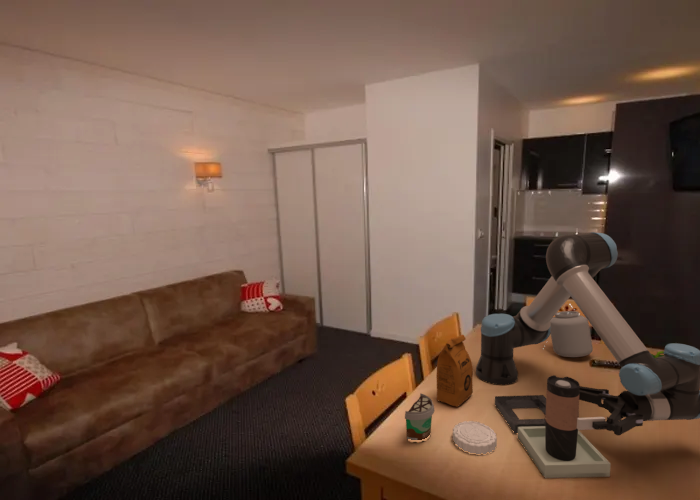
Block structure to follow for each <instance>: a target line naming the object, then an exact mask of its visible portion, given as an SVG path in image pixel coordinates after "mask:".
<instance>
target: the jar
mask: <svg viewBox="0 0 700 500" xmlns="http://www.w3.org/2000/svg"><path fill="white" fill-rule="evenodd" d="M571 304H572V303H569V306H570V307H571V308H572V309H573V305H571ZM580 314H581V313H579V311H576V310H567V311H566V310H565V311H564V310H563V311H558V312H557V313H556V314H555V315H554V316H553V318H552V319H551V320H550V322H551V329H550V331H551V332H550V338H551V345H552V349H553V352H554V353H555V354H556V355H557V356H561V357H567V358H579V357H580V358H581V357H585V356H588V355H590V354H591V353H593V350H594V349H593V348H594V347H593V341H592V335H591V329H590V322H589V321H588V320H587V318H586V317H585V315H580ZM544 347H546V346H545V345H544ZM542 349H543V350H544V348H542Z"/></svg>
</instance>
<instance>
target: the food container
mask: <svg viewBox="0 0 700 500" xmlns="http://www.w3.org/2000/svg"><path fill="white" fill-rule="evenodd" d="M435 411H436V409H435V405H434V402H433V400H432V398H431V397H429V396H428V395H426V394H423V393H420V395H419V398H418V399H417V400H415V401H414V402H413V404H412V406H411V407H410V409H409V410H405V412H404V419H405V424H406V425H405V428H406V440H407V439H411V440H422V439H425V438H427V437H428V436H429V435H430V433H431V434H432V431H431V430H432V422H433V421H432V419H433V415H434V413H435ZM430 436H431V435H430Z"/></svg>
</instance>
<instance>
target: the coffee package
mask: <svg viewBox="0 0 700 500" xmlns="http://www.w3.org/2000/svg"><path fill="white" fill-rule="evenodd" d="M465 340H466V336H465V335H464V334H461V335H459V336H456V337H453V338H450V339H449V340H448V341H447V343H445V346H444V347H442V350H441V351H440V353H439V355H438V358H437V362H436V363H437V364H436V377H435V378H436V400H437V401H438V400H439V401H438V402H440V401H441V403H446V404H447V405H450V406H452V407H459V406H461V405H462V404H464V402H465V401H467V399H468V398H470V397H471V396H472V394H473V393H474V390H473V389H474V388H473V386H474V385H473V372H474V367H473V362H472V359H471V356H470V355H469V353H468V351H467V349H466V347H465V344H464V341H465Z"/></svg>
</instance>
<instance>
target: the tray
mask: <svg viewBox="0 0 700 500" xmlns="http://www.w3.org/2000/svg"><path fill="white" fill-rule="evenodd" d="M517 437H518V438H517V440H518V439H519V440H520V441H519V440H518V441H519V442H521V443H522V444H523V445H522V444H521V443H520V444H521V445H522V447H523V446H524V447H525V448H524V447H523V448H524V450H525V449H526V450H527V451H526V450H525V451H526V452H528V453H529V454H528V453H527V454H528V456H529V455H530V456H529V457H530V459H531V458H532V459H533V460H532V459H531V460H532V462H533V461H534V462H533V463H534V465H535V464H536V465H535V466H536V468H537V467H538V468H537V469H538V471H539V470H540V471H539V472H540V473H542V474H541V475H542V477H543V476H544V477H545V478H544V477H543V478H544V479H561V478H562V479H565V478H566V479H567V478H568V479H569V478H600V477H601V478H602V477H603V478H604V477H605V478H607V477H609V478H610V476H611V467H612V466H611V462H610V461H609V460H608V459H607V458H606V457H605V456H604V455H603V454H602V453H601V452H600V451H599V450H598V449H597V448H596V447H595V446H594V445H593V444H592V442H591V441H589V439H588V438H587V437H586V436H585V435H584V434H583V433H582V432H581V430H578V436H577V448H576V457H575V459H573V460H571V461H562V460H558V459H556V458H554V457H552V456H550V455H549V454H548V453H547V451H546V446H545V426H531V427H518V434H517Z"/></svg>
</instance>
